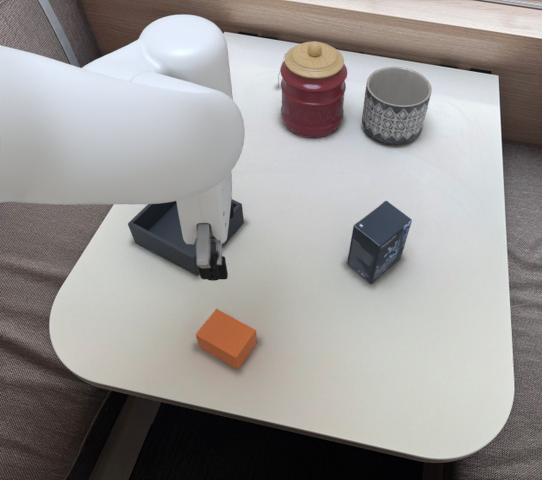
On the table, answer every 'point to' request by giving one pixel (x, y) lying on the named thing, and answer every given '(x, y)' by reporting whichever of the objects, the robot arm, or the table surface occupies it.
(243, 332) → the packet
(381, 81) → the planter
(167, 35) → the robot arm
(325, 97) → the kitchen canister
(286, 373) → the table surface
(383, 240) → the box
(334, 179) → the table surface
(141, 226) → the tray
